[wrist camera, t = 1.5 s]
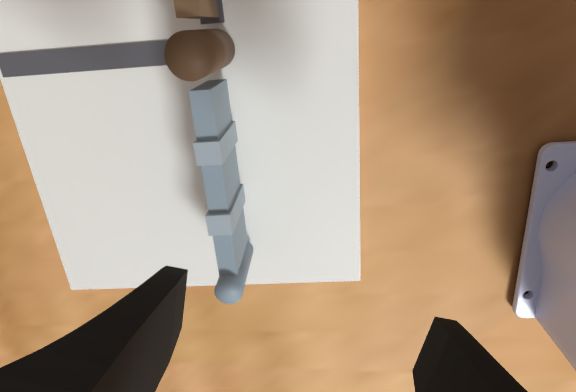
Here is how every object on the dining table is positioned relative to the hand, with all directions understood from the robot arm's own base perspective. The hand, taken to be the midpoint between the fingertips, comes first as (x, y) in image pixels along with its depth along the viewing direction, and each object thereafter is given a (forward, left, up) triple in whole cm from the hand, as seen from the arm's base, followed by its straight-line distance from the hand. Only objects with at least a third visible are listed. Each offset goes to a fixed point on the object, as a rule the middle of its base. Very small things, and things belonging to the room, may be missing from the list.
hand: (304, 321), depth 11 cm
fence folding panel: (+1, +3, -9) cm, 9 cm away
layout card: (+5, +5, -9) cm, 12 cm away
